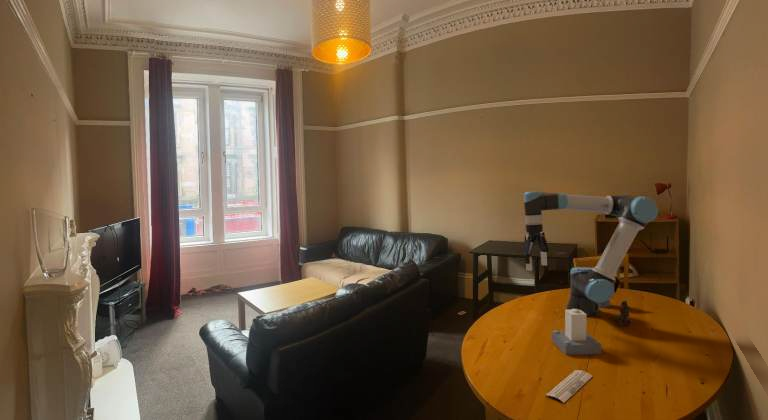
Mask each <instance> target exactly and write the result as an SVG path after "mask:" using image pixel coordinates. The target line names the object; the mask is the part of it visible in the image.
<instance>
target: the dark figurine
mask: <svg viewBox="0 0 768 420" xmlns="http://www.w3.org/2000/svg"><path fill="white" fill-rule="evenodd" d="M620 306H621V308H620V310H619V313H620V314H617V315H613V316H612V319H613V320H614V321H616V322H618V323H617V324H616V326H617V327H621V326H622V325H621V324H622V323H623V324H624V325H627V326H628V327H630V326H631V323H632V320H631V319H630V318H629V316H630V311H631V310H632V308H631V307H630V306H629V305H628V303H627V300H623V301H621V304H620Z"/></svg>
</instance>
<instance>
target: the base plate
mask: <svg viewBox="0 0 768 420" xmlns="http://www.w3.org/2000/svg"><path fill="white" fill-rule="evenodd" d="M551 341H552V342H553V343H554V344H555V345H556V346H557V347H558V348H559V350H560V351H562V353H563V354H564V355H566V356H567V355H568V356H569V355H570V356H573V355H574V356H575V355H601V354H602V343H600V341H598V340H597V339H595V338H594V337H593V336H591V335H590V334H589V332H587V331H586V340H580V341H571V340H570V339H569V338H568V337H567V336H566V335H565V330H562V331H561V330H560V331H559V330H553V331H552V332H551Z"/></svg>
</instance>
